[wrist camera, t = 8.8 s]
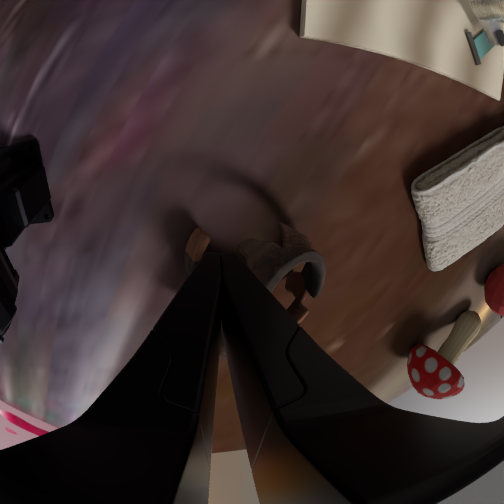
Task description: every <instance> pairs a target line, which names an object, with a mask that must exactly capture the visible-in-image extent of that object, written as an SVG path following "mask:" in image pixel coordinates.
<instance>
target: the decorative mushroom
mask: <svg viewBox="0 0 504 504" xmlns="http://www.w3.org/2000/svg"><path fill="white" fill-rule="evenodd" d="M480 328H481V319H480V317H479V315H478V313H476V312H475V311H465V312H463V313H461V314H460V316H459V317H458V319H457V320H456V322H455V324H454V327H453V329H452V331H451V333H450V335H449V336H448V338H447V339H446V340H445V342H444V343H443V344H442V345H441V347H440V349H439V350H438V352H436V351H435V350H433V349H431V348H429V347H428V346H425V345H422V344H420V345H416V346H414V347H413V348H412V349H411V351H410V353H409V356H408V362H407V368H408V375H409V378H410V380H411V383H412V385H413V387H414V388H415V389H416V390H417V392H418V393H420V394H421V395H423V396H425V397H429V398H433V399H445V398H450V397H452V396H455V395H457V394H458V393H460V392H461V391H462V390H463V387H464V377H463V376H462V374H461V373H460V371H459V370H458V369H457V368H456V367H455V366H454V363H455V362H456V361H457V360H458V359H459V357H460V356H461V354H462V352H463V351H464V349H465V348H466V347H467V345H468V344H469V343H470V342H471V341H472V340H473V339H474V338H475V337H476V335H477V334H478V332H479V330H480Z"/></svg>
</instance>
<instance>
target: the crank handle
mask: <svg viewBox="0 0 504 504" xmlns="http://www.w3.org/2000/svg"><path fill="white" fill-rule="evenodd" d="M468 1H469V3H470V5H471V8H472V10H473V12H474V14H475V15H476V17H477V18H478V20H479V22H480V24H481V26H482V28H483V30H484V33H485V35H486V37H487V39H488V42H489V44H492V45H497V46H498V45H499V44H500V46H504V33H503V30H502V29H501V27H500V25H499V22H500V23H504V0H468Z"/></svg>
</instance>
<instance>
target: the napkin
mask: <svg viewBox="0 0 504 504" xmlns="http://www.w3.org/2000/svg"><path fill="white" fill-rule="evenodd" d="M499 25H500V27H501V29H502V30H503V33H504V23H500V22H499ZM300 38H307V39H314V40H320V41H326V42H331V43H336V44H341V45H346V46H351V47H355V48H359V49H363V50H367V51H371V52H375V53H379V54H382V55H386V56H389V57H393V58H396V59H399V60H402V61H406V62H409V63H412V64H415V65H417V66H420V67H423V68H426V69H429V70H431V71H434V72H436V73H439V74H441V75H444V76H446V77H449V78H451V79H454V80H456V81H458V82H460V83H463V84H465V85H467V86H469V87H471V88H473V89H476V90H478V91H480V92H482V93H484V94H486V95H488V96H490V97H491V98H494V99H497V100H499V101H500V96H501V89H502V81H503V71H504V46H500V44H499V45H498V46H497V45H492V44H489V42H488V39H487V37H486V35H485V33H484V30H483V28H482V26H481V24H480V22H479V20H478V18H477V17H476V15H475V14H474V12H473V10H472V8H471V5H470V3H469V1H468V0H302V5H301V22H300Z"/></svg>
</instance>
